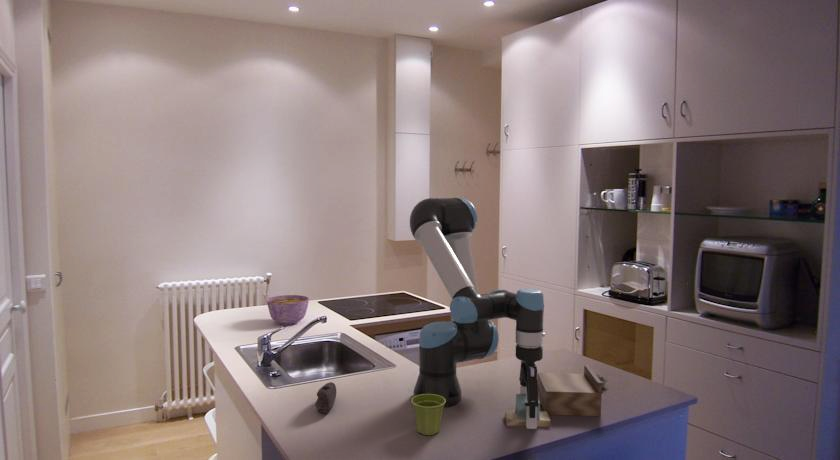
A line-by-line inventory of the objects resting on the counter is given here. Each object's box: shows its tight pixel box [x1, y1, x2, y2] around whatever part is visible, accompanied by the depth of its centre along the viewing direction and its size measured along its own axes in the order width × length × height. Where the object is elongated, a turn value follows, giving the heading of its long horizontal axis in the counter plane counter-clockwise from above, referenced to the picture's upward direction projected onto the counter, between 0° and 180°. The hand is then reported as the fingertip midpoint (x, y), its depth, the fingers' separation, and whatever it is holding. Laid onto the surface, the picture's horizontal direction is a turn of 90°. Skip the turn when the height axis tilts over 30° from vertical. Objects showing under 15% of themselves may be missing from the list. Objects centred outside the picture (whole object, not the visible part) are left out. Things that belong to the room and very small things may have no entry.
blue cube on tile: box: [504, 393, 551, 428], centre depth 155 cm, size 12×6×7 cm, turn 87°
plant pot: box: [410, 394, 446, 436], centre depth 149 cm, size 9×9×9 cm
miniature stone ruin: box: [595, 373, 609, 389], centre depth 182 cm, size 11×8×4 cm
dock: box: [537, 364, 603, 417], centre depth 167 cm, size 16×16×10 cm
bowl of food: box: [266, 294, 310, 326], centre depth 262 cm, size 20×20×12 cm
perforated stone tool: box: [314, 381, 337, 414], centre depth 165 cm, size 15×5×7 cm, turn 176°
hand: (527, 417), depth 155 cm, fingers open, 13 cm apart
